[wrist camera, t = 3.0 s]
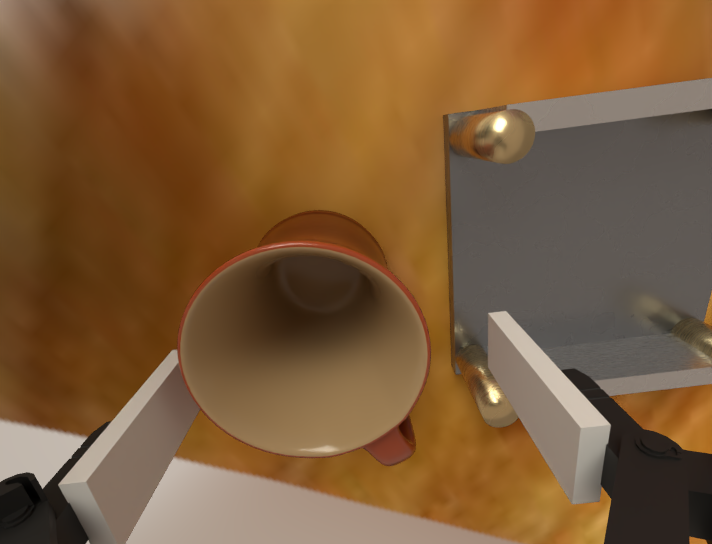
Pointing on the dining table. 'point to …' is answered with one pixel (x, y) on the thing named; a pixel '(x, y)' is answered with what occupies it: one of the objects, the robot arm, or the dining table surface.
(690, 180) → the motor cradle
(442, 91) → the dining table surface
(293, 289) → the mug
